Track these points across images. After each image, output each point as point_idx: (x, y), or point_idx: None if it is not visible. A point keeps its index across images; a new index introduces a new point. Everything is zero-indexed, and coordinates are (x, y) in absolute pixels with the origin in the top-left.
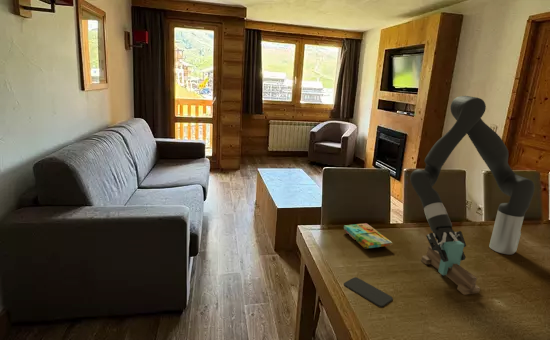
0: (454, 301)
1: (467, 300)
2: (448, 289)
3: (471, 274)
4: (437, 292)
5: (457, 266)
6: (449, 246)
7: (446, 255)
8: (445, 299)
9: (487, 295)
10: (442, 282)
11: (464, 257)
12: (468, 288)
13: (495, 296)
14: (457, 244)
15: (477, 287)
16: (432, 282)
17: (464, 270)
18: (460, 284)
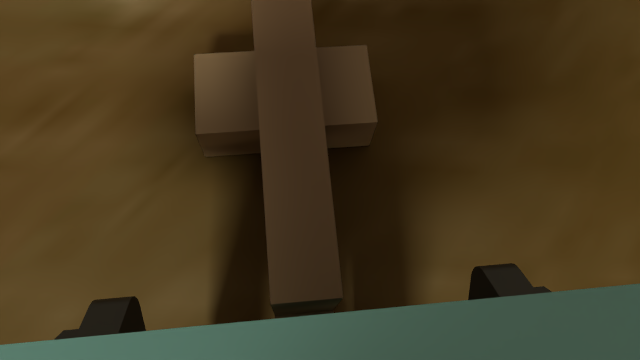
0: (495, 13)
1: (380, 13)
2: (452, 151)
3: (263, 31)
4: (578, 122)
5: (320, 220)
6: (634, 289)
7: None
8: (555, 39)
9: (151, 49)
10: (447, 259)
11: (97, 311)
12: (322, 54)
13: (90, 32)
14: (301, 323)
15: (215, 61)
16: (552, 266)
17: (288, 119)
18: (356, 117)
